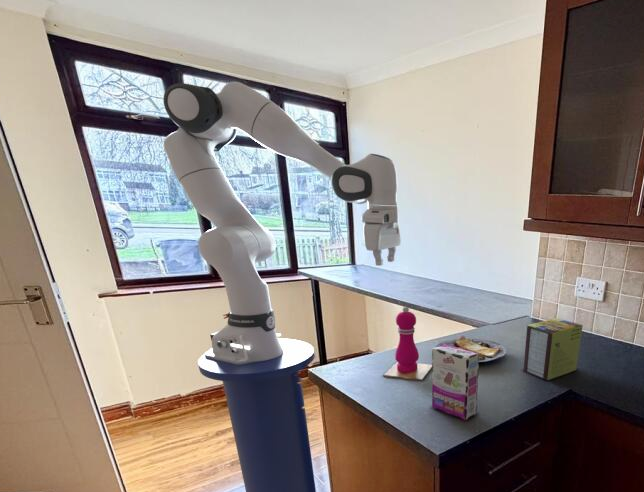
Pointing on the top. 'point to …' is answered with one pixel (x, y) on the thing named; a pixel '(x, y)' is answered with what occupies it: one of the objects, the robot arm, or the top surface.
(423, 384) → the top surface
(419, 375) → the coaster mat
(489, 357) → the food plate
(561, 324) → the protein box
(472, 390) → the candy bar box
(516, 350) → the top surface
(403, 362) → the pepper mill
